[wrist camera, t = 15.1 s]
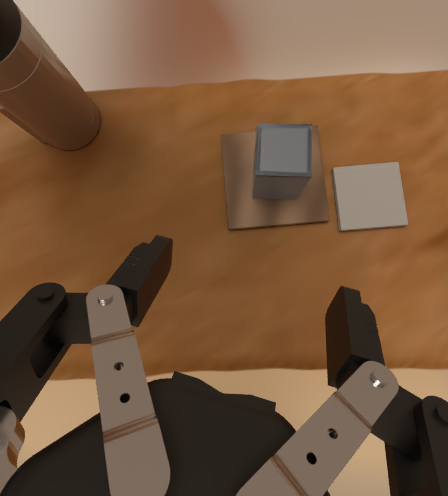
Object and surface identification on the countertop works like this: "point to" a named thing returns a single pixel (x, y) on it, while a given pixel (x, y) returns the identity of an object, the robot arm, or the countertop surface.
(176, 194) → the countertop surface
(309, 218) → the walnut board
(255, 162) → the grey upright block
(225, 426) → the robot arm
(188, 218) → the countertop surface
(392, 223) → the rubber mat
